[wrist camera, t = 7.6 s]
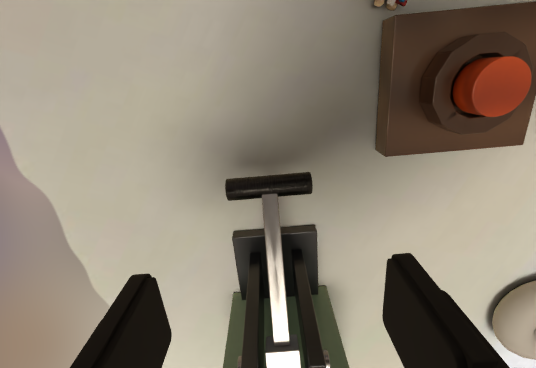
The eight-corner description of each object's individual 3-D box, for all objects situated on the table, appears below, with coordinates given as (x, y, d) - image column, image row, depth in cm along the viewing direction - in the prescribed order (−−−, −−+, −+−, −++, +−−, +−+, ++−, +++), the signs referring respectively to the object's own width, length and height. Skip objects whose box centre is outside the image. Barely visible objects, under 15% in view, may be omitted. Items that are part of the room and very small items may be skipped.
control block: (382, 20, 21) (407, 9, 17) (531, 6, 21) (589, -9, 17) (375, 150, 25) (394, 163, 21) (501, 139, 24) (544, 150, 21)
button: (456, 60, 19) (478, 59, 17) (511, 55, 19) (539, 53, 17) (448, 115, 20) (467, 119, 18) (499, 110, 20) (524, 114, 18)
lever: (229, 181, 21) (223, 176, 19) (308, 174, 21) (311, 169, 19) (242, 379, 20) (238, 402, 17) (327, 373, 20) (334, 395, 17)
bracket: (233, 231, 28) (209, 351, 16) (314, 224, 27) (353, 341, 15) (242, 294, 30) (229, 436, 19) (316, 289, 30) (350, 429, 18)
